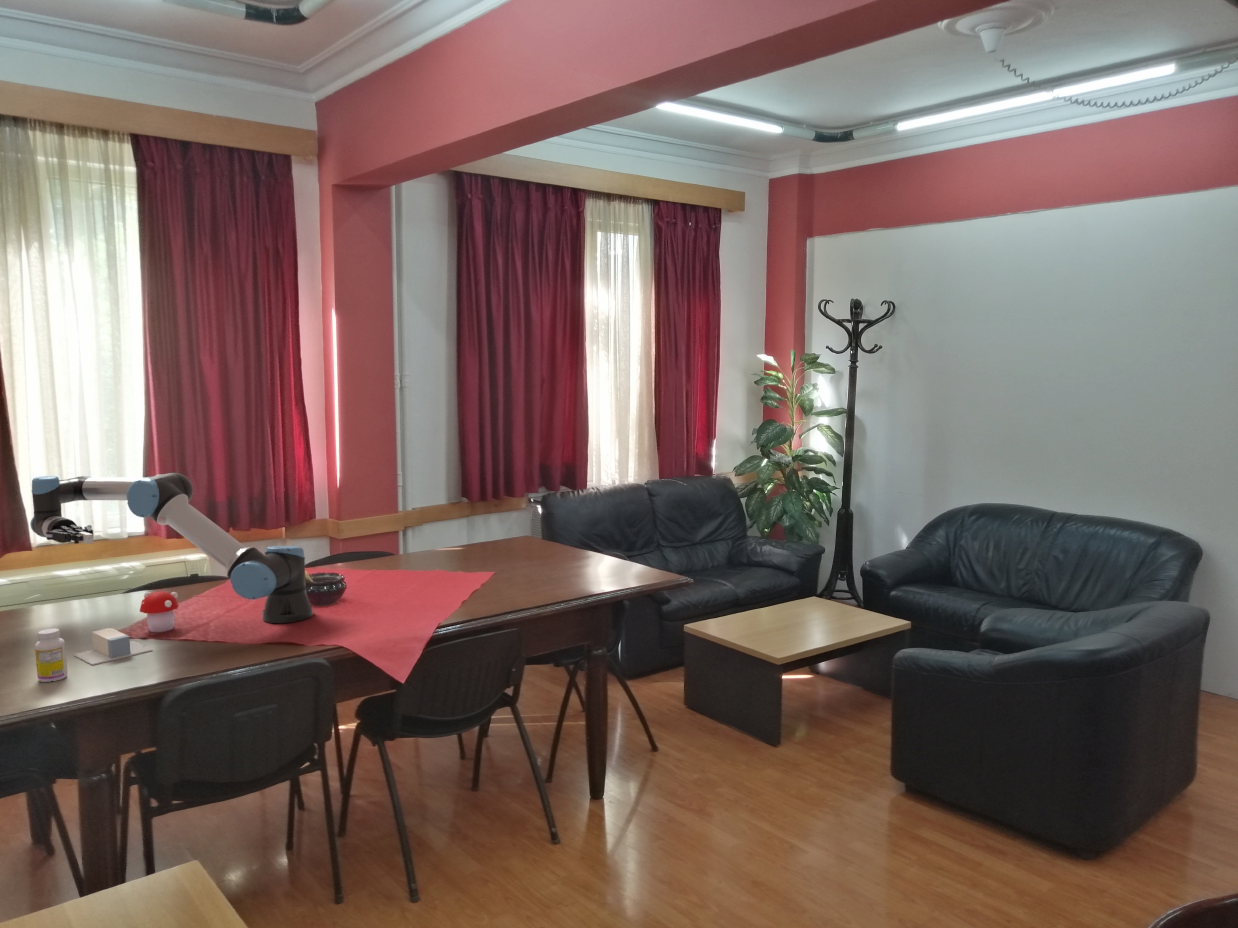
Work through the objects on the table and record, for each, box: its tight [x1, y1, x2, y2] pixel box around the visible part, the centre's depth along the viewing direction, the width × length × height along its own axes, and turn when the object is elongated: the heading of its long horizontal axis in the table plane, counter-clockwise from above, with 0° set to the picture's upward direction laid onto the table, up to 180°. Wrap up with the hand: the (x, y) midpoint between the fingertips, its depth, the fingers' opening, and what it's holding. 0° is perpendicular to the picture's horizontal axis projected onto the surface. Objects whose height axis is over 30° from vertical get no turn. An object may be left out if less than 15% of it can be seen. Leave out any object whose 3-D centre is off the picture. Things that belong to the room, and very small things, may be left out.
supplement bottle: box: [34, 628, 68, 683], centre depth 241 cm, size 7×7×13 cm
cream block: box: [91, 627, 131, 658], centre depth 263 cm, size 5×5×13 cm
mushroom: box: [139, 590, 179, 633], centre depth 284 cm, size 11×11×12 cm
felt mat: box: [73, 640, 153, 666], centre depth 262 cm, size 13×16×1 cm
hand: (90, 539), depth 274 cm, fingers closed
